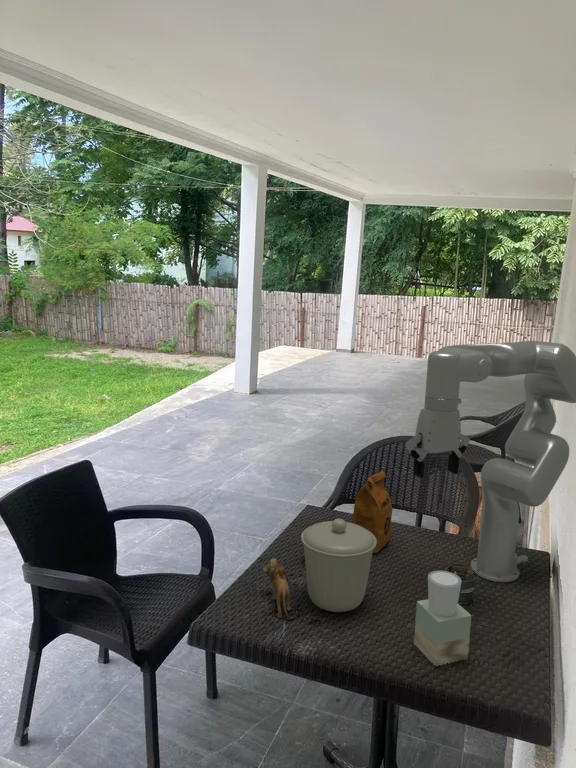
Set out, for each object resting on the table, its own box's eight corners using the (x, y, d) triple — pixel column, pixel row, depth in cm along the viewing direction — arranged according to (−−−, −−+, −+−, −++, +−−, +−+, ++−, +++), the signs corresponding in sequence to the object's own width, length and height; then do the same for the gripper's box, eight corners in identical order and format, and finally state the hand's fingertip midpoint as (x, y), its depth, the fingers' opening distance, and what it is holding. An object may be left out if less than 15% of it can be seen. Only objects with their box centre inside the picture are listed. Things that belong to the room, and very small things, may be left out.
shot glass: (461, 619, 117) (464, 588, 116) (427, 616, 118) (429, 585, 117) (456, 601, 124) (458, 571, 123) (423, 598, 125) (426, 568, 124)
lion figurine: (260, 590, 145) (261, 557, 143) (280, 587, 146) (281, 554, 145) (280, 623, 131) (281, 587, 129) (301, 619, 133) (303, 583, 131)
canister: (319, 574, 153) (322, 499, 150) (383, 594, 144) (388, 515, 141) (285, 606, 138) (287, 523, 134) (354, 631, 129) (359, 543, 125)
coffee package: (395, 543, 173) (400, 473, 169) (376, 558, 163) (381, 484, 160) (366, 534, 179) (370, 466, 175) (346, 548, 169) (349, 476, 165)
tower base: (444, 637, 128) (446, 616, 127) (467, 659, 121) (469, 637, 120) (413, 643, 125) (415, 622, 124) (435, 667, 118) (437, 644, 117)
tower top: (446, 616, 127) (448, 595, 126) (469, 637, 120) (471, 615, 119) (415, 622, 125) (416, 601, 124) (436, 644, 117) (438, 622, 116)
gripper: (461, 399, 141) (456, 466, 144) (400, 402, 135) (396, 472, 138) (482, 405, 134) (475, 476, 137) (418, 409, 128) (413, 482, 131)
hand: (435, 474), depth 138 cm, fingers open, 9 cm apart
